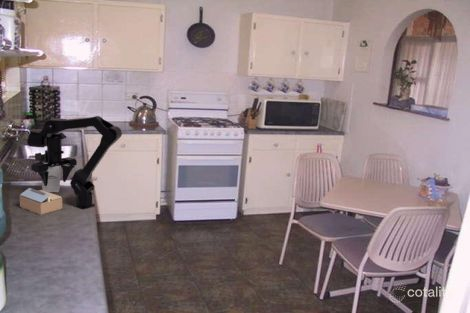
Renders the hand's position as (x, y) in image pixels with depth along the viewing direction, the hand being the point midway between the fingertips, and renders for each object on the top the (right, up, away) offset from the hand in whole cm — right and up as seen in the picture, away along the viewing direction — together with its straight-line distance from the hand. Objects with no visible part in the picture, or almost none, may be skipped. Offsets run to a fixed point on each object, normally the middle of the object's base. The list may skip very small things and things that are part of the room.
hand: (55, 183), depth 189 cm
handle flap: (-5, -4, -9) cm, 11 cm away
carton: (-4, -10, -5) cm, 12 cm away
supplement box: (-9, -4, +19) cm, 21 cm away
